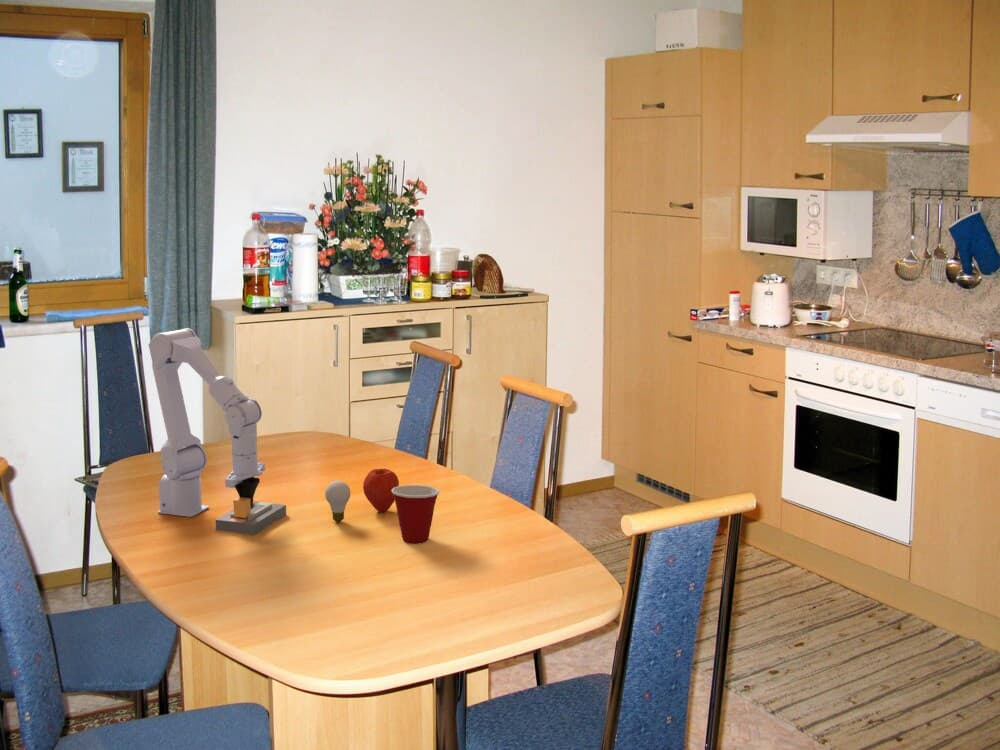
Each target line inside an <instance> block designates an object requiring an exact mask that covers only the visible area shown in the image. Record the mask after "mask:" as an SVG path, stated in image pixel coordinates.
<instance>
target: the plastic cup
mask: <svg viewBox="0 0 1000 750" xmlns="http://www.w3.org/2000/svg"><path fill="white" fill-rule="evenodd" d="M391 491H392V493H393V495H394V499H395V501H394V503H395V507H396V512H397V518H398V524H399V527H400V533H401V537H402V541H403V542H404V543H405V544H409V543H410V545H420V544H419V543H421V544H424V543H423V542H425V543H426V541H427V542H428V540H429V537H430V532H431V526H432V523H433V517H434V511H435V505H436V501H437V499H438V496H439V494H440V492H441V491H440V489H439V488H437V487H434V486H431V485H429V486H428V485H421V484H420V485H419V484H408V485H407V484H406V485H399V486H398V487H395V488H393V489H392V490H391Z"/></svg>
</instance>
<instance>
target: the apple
mask: <svg viewBox="0 0 1000 750" xmlns="http://www.w3.org/2000/svg"><path fill="white" fill-rule="evenodd" d="M398 486H400V481H399V478H398V476H397V474H396V472H394V471H392V470H391V469H388V468H374V469H372V470H370V471H369V472H368V473H367V475H366V476H365V478H364V480H363V486H362V489H363V493H364V496H365V497H366V499H367V501H368V502H369V503H370V504H371V506H372V507H373V508H374V509H375V510H376V511H377V512H380V513H387V511H389V509H390V508H391V507H392V505H393V504H394V503H395V499H394V495H393V493H392V491H391V490H392V489H393V488H395V487H398Z"/></svg>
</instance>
